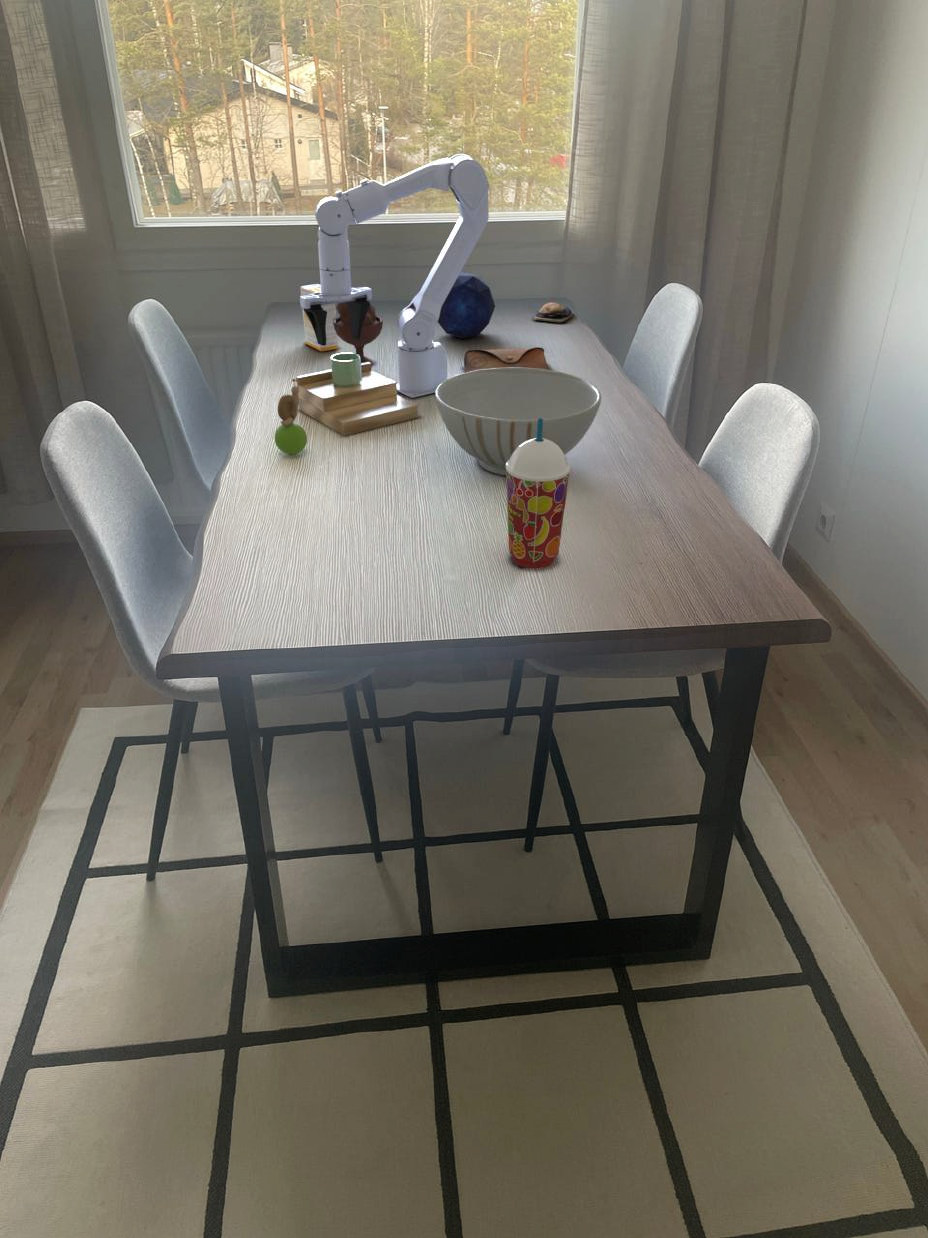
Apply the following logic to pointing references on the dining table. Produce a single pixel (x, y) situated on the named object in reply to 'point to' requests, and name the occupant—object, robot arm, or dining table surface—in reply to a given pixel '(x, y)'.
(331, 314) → the supplement box
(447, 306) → the decorative orb
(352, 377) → the green cup
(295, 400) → the snail figurine
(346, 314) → the ice cream bowl
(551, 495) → the smoothie
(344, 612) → the dining table surface
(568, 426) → the decorative bowl
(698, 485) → the dining table surface
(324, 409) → the shelf
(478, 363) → the sunglasses case
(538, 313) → the sandwich
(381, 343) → the dining table surface
